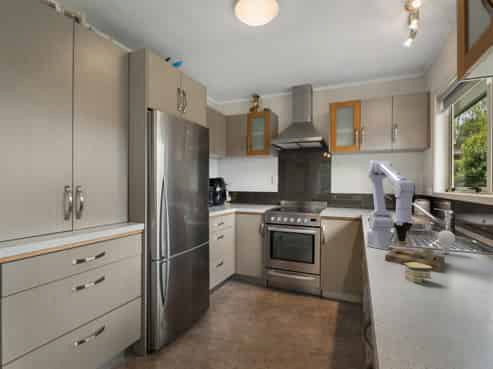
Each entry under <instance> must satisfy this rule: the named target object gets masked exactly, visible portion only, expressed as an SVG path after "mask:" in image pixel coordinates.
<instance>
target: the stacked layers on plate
mask: <svg viewBox="0 0 493 369" xmlns="http://www.w3.org/2000/svg"><path fill="white" fill-rule="evenodd" d="M404 264H406V265H405V266H404V267H403V269H404V272H403V273H402V274H403V275H404V280H406V281H409V282H410V281H411V282H410V283H412V282H418V283H423V280H432V276H431V274H432V273H433V271H431V270H429V269H426V268H432V267H431V266H428V265H425V264H421V263H417V262H411V263H404ZM407 265H409V266H407Z"/></svg>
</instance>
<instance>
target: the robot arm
mask: <svg viewBox="0 0 493 369" xmlns="http://www.w3.org/2000/svg"><path fill="white" fill-rule="evenodd" d="M367 174H368V178H369V179H371V187H372V189H371V190H372V195H373V196H372V198H373V204H374V205H373V206H374V210H373V211H371V213H370V214H369V219H368V225H369V227H370V228H368V230H367V237H366V238H367V239H366V240H367V241H366V247H370V248H373V249H375V248H376V249H381V250H386V251H388V250H389V249H391V248H392V246H391V245H390V231H391V229H392V230H393V228H395V231H396V235H397V239H398V240H399V241H403V242H404V241H405V239H406V233H407V230H408V235H409V233H410V230H411V228H412V226H413V225H414V224H413V223H414V222H416V220H415V219H412V212H413V211H412V208H413V205H412V204H413V194H414V193H415V192H416V188H417V185H416V183H415V181H414V180H413V179H407V177H405V176H404V175H403V174H402V172H400V171H395V170H394V168H393V163H392V162H391V161H390V160H372V159H371V160H370V161H368V164H367ZM383 179H387V180H388V182H389V183H390V184H391V185H392V187H393V192H394V198H395V218H394V219H393V216H392V213H391V212H390V211H388V210H387V207H386V201H385V193H384V185H383ZM395 221H396V222H395ZM412 222H413V223H412ZM398 240H397V241H398Z"/></svg>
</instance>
